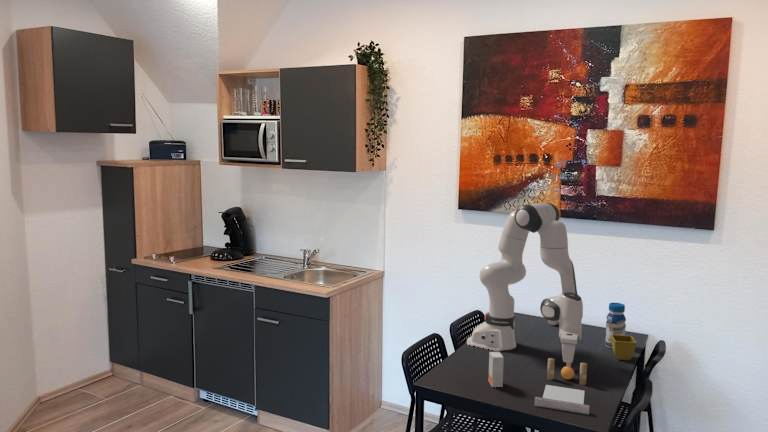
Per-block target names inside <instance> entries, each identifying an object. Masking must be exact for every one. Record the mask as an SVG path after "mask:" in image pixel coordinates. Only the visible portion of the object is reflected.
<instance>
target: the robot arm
mask: <svg viewBox="0 0 768 432" xmlns="http://www.w3.org/2000/svg"><path fill="white" fill-rule="evenodd" d="M560 217H561V214H560V210H559V208H558V207H557V206H556V205H555V204H553V203H550V202H535V203H530V204H523V205H521V206H519V207H518V208H517V209H516V210H513V211H511V212H510V213H509V215H508V217H507V218H506V221H505V224H504V226H503V230H502V232H501V236H500V239H499V242H498V247H497V248H498V250H499V252H500V253H501V259H500V261H499V262H492V263H489V264H487V265H486V266H484V267H482V268H481V270H480V271H479V279H480V282H481V284H482V285H483V286H485V287H484V288H486V291H487V293H488V298H489V299H488V300H489V309H488V310H489V311H486V313H485V315H484V321H483V322H482V323H479V325H477V326H476V327H474V329H473V331H472V334H471V336H469V337H468V338H467V339H466V345H467V346H469V345H470V346H469V347H473V346H475V347H474V348H478V347H479V348H478V349H483V348H484V349H483V350H488V349H489V350H488V351H492V350H493V351H492V352H502V351H510V350H513V349H515V348H517V343H516V337H515V328H516V327H515V326H516V318H515V298H514V297H513V296H512V295H511V294H510V290H509V285H514V284H518V283H519V282H521V281H523V279H524V278H526V273H527V270H526V267H525V264H523V254H524V250H525V246H526V243H527V239H528V237H529V233H530V232H531V233H536V232H537V233H538V235H539V240H540V245H539V246H540V248H539V249H540V251H539V253H540V258H541V262H542V263H543V264H544V265H545V266H547V267H548V268H550V269H552V270H555V271H556V272H558V274H559V276H560V277H559V278H560V284H561V294H560V295H557V296H551V297H546V298H544V299H542V301H541V303H540V309H539V310H540V313H541V314H540V315H542V318H544V319H545V320H546V321H548V320H550V321H558V323H559V325H558V337H559V338H560V339H559V340H560V343H561V353H562V354H561V355H562V362H564V363H566V364H565V365H566V366H569V367H571V368H572V363H574V358H575V357H574V356H575V351H576V347H577V345H578V343H579V341H581V340H582V337H583V336H582V335H583V333H582V332H583V324H582V319H583V315H584V305H583V303H584V302H583V300H582V297H581V296H580V295H578V288H577V280H576V274H575V268H574V263H573V261H572V260H571V258H570V253H569V243H568V242H569V241H568V240H569V239H568V231H567V228H566V225H565V223H564V222H562V221H560ZM566 366H565V367H566Z"/></svg>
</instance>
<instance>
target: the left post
mask: <svg viewBox="0 0 768 432" xmlns="http://www.w3.org/2000/svg"><path fill="white" fill-rule="evenodd" d="M546 379H547V380H549V381H554V380H555V358H552V357H550V358H549V357H548V358H547V373H546Z"/></svg>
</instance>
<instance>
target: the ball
mask: <svg viewBox="0 0 768 432" xmlns="http://www.w3.org/2000/svg"><path fill="white" fill-rule="evenodd" d="M560 374H561V377H562V378H563V379H565V380H571V379H573V378H574V377H575V370H574V369H573V367H572V366H571V367H569V366H563V367H562V369H561V370H560Z"/></svg>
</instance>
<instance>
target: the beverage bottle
mask: <svg viewBox="0 0 768 432" xmlns="http://www.w3.org/2000/svg"><path fill="white" fill-rule="evenodd" d="M625 309H626V305H625V304H624V303H621V302H610V303H608V311H609V312H608V314H607V316H606V319H607V320H606V322H605V341H604V342H605V343H604V345H605V347H607V348H609V349H612V340H611V335H623V336H626V328H627V325H626V321H627V318H626V316H625V314H624V313H625Z"/></svg>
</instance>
